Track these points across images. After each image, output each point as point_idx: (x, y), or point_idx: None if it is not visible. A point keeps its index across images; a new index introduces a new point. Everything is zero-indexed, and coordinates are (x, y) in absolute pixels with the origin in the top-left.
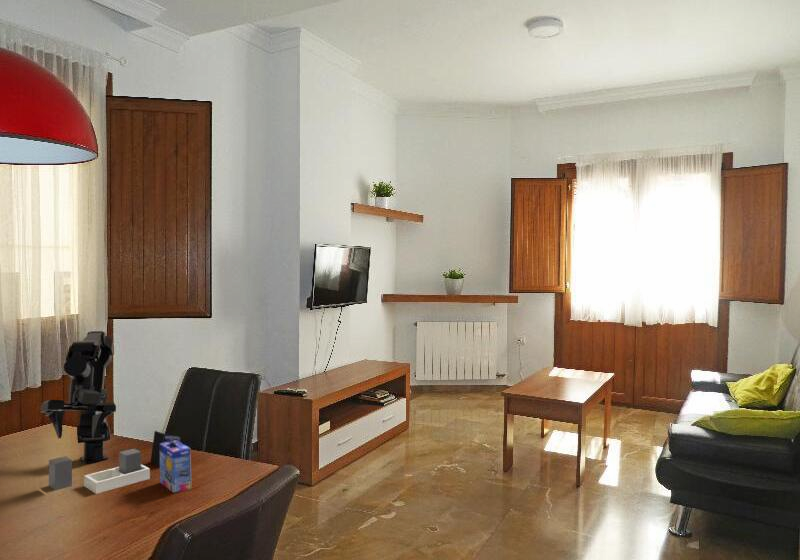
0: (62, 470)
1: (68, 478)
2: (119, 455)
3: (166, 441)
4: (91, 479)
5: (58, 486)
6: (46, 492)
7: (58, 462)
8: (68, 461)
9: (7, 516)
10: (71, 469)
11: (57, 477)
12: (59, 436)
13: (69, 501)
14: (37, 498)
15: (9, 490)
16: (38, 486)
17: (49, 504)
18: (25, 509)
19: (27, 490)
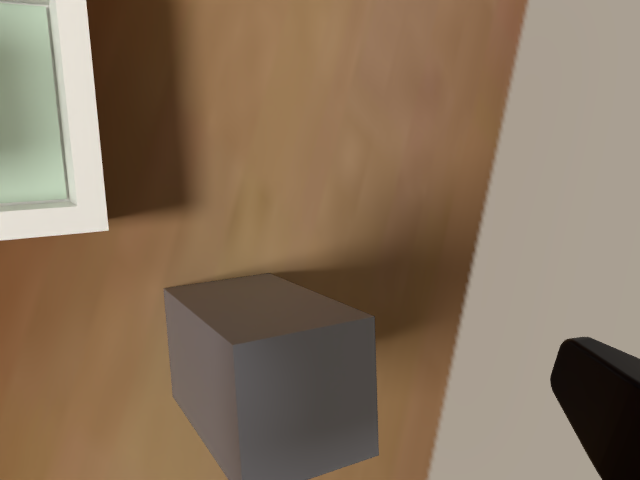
0: (280, 309)
1: (207, 300)
2: None
3: None
4: (87, 76)
5: (260, 282)
6: None
7: (344, 333)
8: (260, 336)
9: (507, 85)
10: (205, 319)
11: (294, 294)
12: (603, 348)
13: (250, 36)
14: (364, 230)
15: (424, 445)
16: None
17: (345, 84)
18: (440, 111)
19: None
